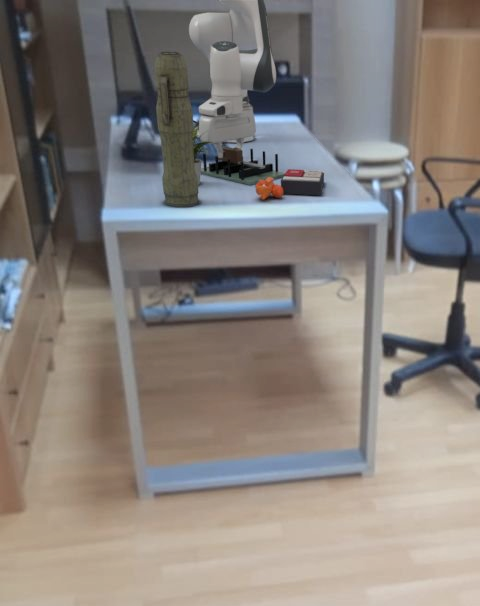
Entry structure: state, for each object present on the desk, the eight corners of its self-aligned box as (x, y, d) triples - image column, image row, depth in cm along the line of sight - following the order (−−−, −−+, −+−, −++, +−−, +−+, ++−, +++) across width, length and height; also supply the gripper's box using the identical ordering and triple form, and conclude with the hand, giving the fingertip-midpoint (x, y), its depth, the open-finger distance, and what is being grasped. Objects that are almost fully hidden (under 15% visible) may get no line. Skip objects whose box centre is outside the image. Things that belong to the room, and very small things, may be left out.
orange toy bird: (264, 169, 213) (255, 180, 203) (289, 180, 214) (282, 191, 204) (258, 187, 216) (249, 198, 206) (284, 197, 217) (276, 209, 207)
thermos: (204, 197, 208) (194, 51, 190) (192, 209, 198) (181, 56, 180) (171, 195, 209) (158, 49, 190) (158, 207, 199) (143, 54, 180)
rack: (195, 172, 232) (194, 151, 229) (233, 163, 243) (232, 144, 240) (250, 185, 222) (249, 164, 219) (286, 175, 233) (286, 155, 230)
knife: (218, 159, 234) (217, 147, 232) (223, 158, 236) (223, 145, 234) (260, 169, 226) (259, 156, 224) (265, 167, 228) (265, 154, 226)
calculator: (324, 169, 225) (320, 179, 212) (324, 185, 228) (320, 195, 214) (286, 167, 225) (280, 177, 212) (286, 183, 228) (280, 193, 214)
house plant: (171, 192, 211) (165, 128, 203) (154, 181, 221) (147, 119, 212) (220, 187, 218) (216, 125, 209) (201, 176, 228) (197, 116, 219)
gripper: (244, 100, 234) (246, 149, 241) (194, 107, 219) (197, 159, 227) (259, 103, 231) (261, 152, 238) (210, 110, 216) (213, 162, 224)
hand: (229, 155), depth 232 cm, fingers open, 5 cm apart
